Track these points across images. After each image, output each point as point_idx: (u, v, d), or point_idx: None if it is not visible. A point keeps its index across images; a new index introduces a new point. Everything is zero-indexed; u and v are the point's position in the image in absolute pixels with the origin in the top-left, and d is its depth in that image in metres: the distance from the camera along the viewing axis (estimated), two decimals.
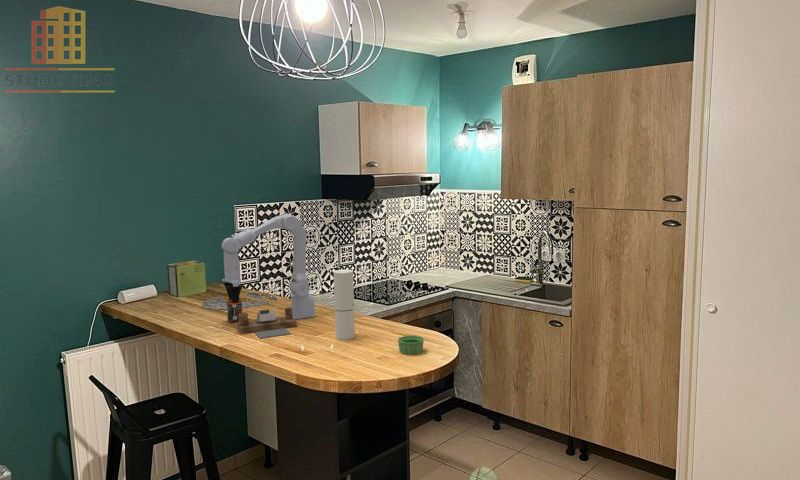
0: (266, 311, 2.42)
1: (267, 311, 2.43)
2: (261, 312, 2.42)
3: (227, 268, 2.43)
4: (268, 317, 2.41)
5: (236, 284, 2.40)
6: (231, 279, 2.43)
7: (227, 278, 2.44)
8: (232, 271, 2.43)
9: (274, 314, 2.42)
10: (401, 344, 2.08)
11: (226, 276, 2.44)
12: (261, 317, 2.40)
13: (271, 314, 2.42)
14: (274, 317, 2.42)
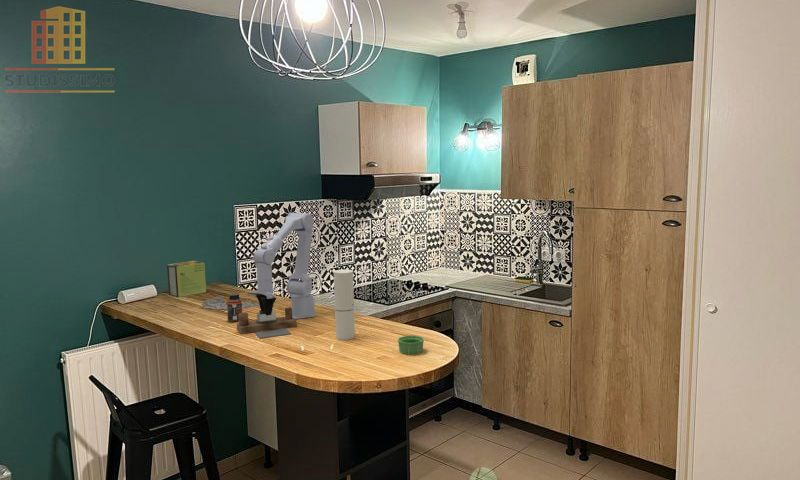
0: None
1: None
2: (261, 312, 2.42)
3: (264, 280, 2.38)
4: (268, 317, 2.41)
5: (270, 296, 2.36)
6: (264, 291, 2.39)
7: (260, 290, 2.39)
8: (265, 283, 2.39)
9: (274, 314, 2.42)
10: (401, 344, 2.08)
11: (259, 288, 2.39)
12: (261, 317, 2.40)
13: (271, 314, 2.42)
14: (274, 317, 2.42)
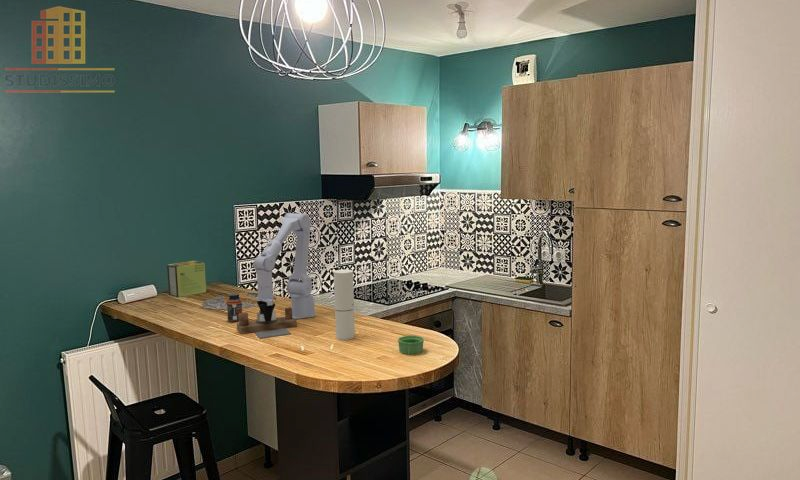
0: None
1: None
2: (261, 312, 2.42)
3: (265, 286, 2.39)
4: None
5: (270, 303, 2.36)
6: (265, 298, 2.39)
7: (261, 297, 2.40)
8: (266, 289, 2.39)
9: (274, 314, 2.42)
10: (401, 344, 2.08)
11: (260, 295, 2.40)
12: (261, 317, 2.40)
13: None
14: (274, 317, 2.42)
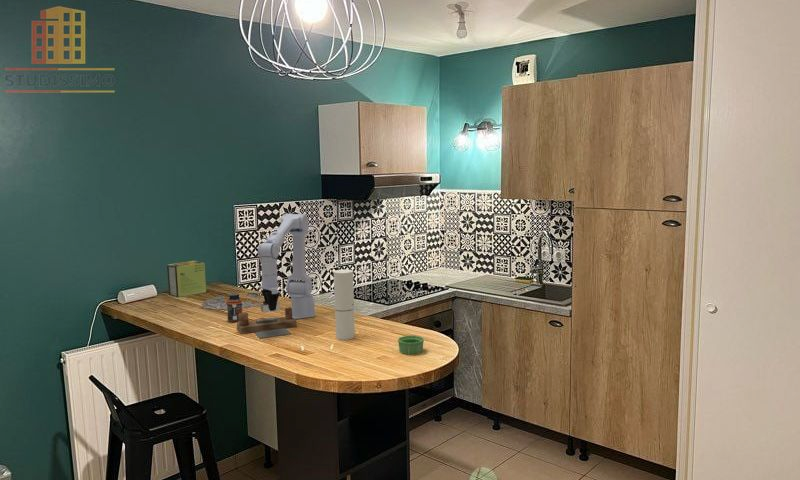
0: None
1: None
2: (265, 303, 2.33)
3: (271, 274, 2.31)
4: None
5: (275, 291, 2.27)
6: (269, 286, 2.31)
7: (265, 285, 2.31)
8: (270, 278, 2.31)
9: (278, 305, 2.34)
10: (401, 344, 2.08)
11: (264, 283, 2.31)
12: (265, 308, 2.32)
13: None
14: (278, 308, 2.34)
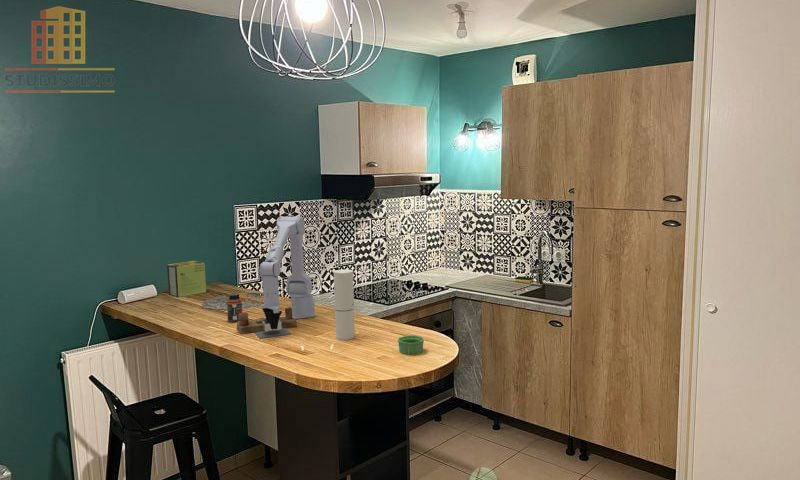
0: None
1: None
2: (266, 321, 2.33)
3: (273, 293, 2.31)
4: None
5: (277, 310, 2.28)
6: (271, 305, 2.31)
7: (267, 304, 2.31)
8: (272, 296, 2.31)
9: (280, 323, 2.34)
10: (401, 344, 2.08)
11: (265, 302, 2.31)
12: (266, 327, 2.32)
13: None
14: (280, 326, 2.34)
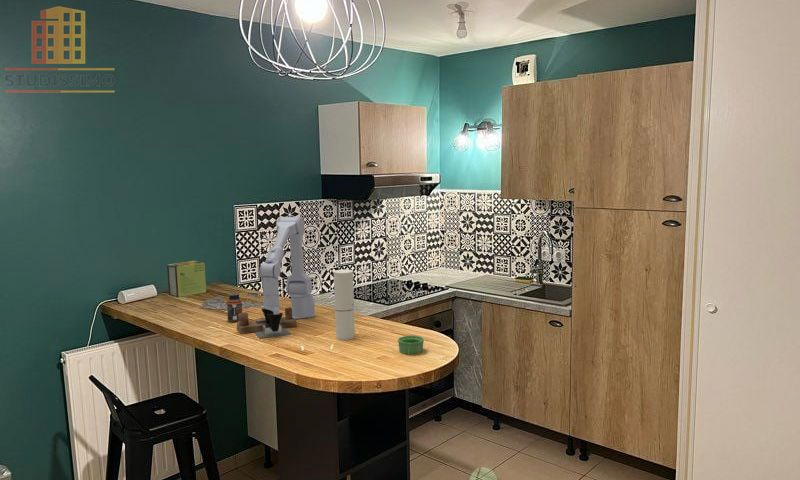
0: None
1: None
2: (266, 325, 2.33)
3: (273, 294, 2.31)
4: None
5: (277, 312, 2.28)
6: (271, 306, 2.31)
7: (267, 305, 2.31)
8: (272, 298, 2.31)
9: (280, 327, 2.34)
10: (401, 344, 2.08)
11: (266, 303, 2.31)
12: (266, 331, 2.32)
13: None
14: (280, 331, 2.34)
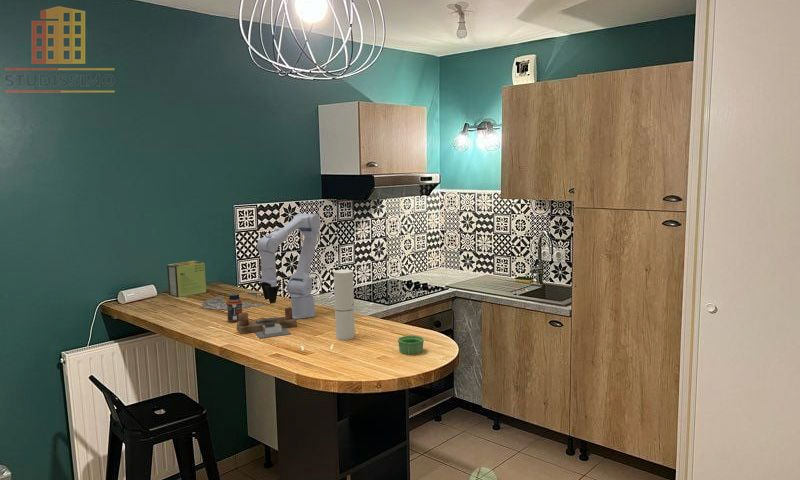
0: (272, 324, 2.34)
1: (273, 324, 2.34)
2: (266, 325, 2.33)
3: (268, 268, 2.40)
4: (274, 331, 2.33)
5: (274, 284, 2.38)
6: (268, 279, 2.41)
7: (264, 278, 2.41)
8: (269, 271, 2.41)
9: (280, 327, 2.34)
10: (401, 344, 2.08)
11: (263, 276, 2.41)
12: (266, 331, 2.32)
13: (277, 328, 2.34)
14: (280, 331, 2.34)
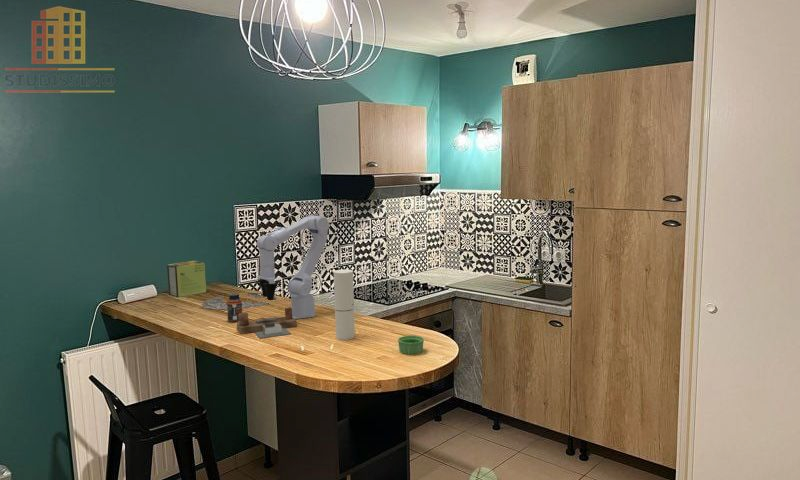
0: (272, 324, 2.34)
1: (273, 324, 2.34)
2: (266, 325, 2.33)
3: (265, 265, 2.45)
4: (274, 331, 2.33)
5: (272, 281, 2.42)
6: (267, 276, 2.46)
7: (263, 275, 2.46)
8: (268, 268, 2.46)
9: (280, 327, 2.34)
10: (401, 344, 2.08)
11: (262, 273, 2.46)
12: (266, 331, 2.32)
13: (277, 328, 2.34)
14: (280, 331, 2.34)
